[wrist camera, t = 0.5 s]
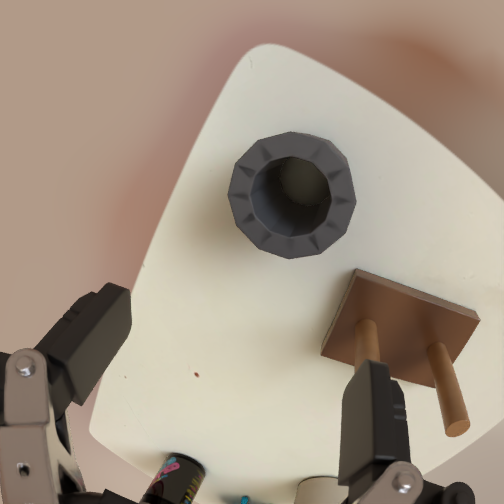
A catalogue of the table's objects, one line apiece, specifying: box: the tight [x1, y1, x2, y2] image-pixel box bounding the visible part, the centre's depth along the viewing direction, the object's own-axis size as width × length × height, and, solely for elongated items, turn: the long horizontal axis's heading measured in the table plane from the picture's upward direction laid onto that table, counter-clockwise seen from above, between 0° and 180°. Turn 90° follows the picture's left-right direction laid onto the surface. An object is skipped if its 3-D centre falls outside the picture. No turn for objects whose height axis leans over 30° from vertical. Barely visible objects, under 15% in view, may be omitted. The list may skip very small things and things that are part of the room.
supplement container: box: [139, 454, 205, 504], centre depth 37 cm, size 7×7×10 cm
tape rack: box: [321, 269, 480, 437], centre depth 20 cm, size 12×8×10 cm, turn 76°
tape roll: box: [228, 132, 356, 259], centre depth 20 cm, size 6×6×8 cm
